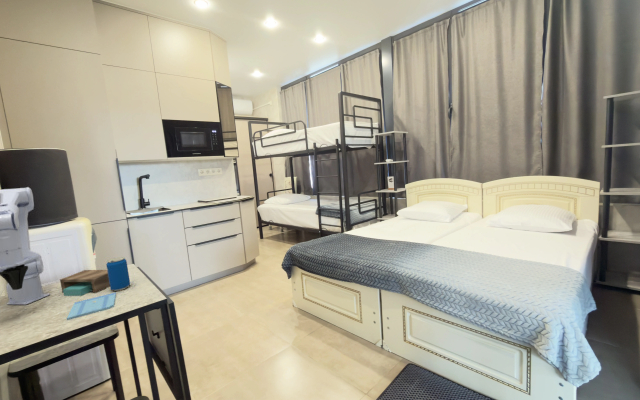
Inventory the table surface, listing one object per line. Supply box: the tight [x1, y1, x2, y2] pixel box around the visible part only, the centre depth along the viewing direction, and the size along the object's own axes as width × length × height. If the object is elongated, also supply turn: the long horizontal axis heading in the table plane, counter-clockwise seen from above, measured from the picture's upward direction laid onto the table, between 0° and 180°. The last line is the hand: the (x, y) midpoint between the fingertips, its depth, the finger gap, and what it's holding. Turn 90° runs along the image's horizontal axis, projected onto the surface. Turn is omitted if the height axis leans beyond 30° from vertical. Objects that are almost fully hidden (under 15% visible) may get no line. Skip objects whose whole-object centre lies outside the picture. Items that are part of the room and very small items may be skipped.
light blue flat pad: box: [66, 291, 117, 321], centre depth 97 cm, size 14×12×1 cm
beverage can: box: [105, 256, 131, 292], centre depth 110 cm, size 6×6×12 cm
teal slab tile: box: [63, 282, 93, 297], centre depth 112 cm, size 8×10×3 cm
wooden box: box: [59, 269, 110, 294], centre depth 114 cm, size 16×10×6 cm, turn 81°
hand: (17, 289), depth 93 cm, fingers closed
